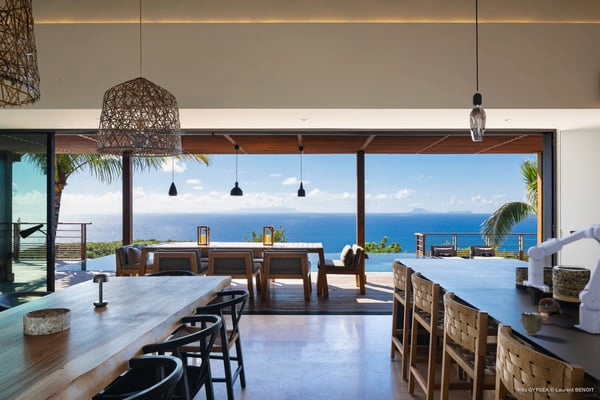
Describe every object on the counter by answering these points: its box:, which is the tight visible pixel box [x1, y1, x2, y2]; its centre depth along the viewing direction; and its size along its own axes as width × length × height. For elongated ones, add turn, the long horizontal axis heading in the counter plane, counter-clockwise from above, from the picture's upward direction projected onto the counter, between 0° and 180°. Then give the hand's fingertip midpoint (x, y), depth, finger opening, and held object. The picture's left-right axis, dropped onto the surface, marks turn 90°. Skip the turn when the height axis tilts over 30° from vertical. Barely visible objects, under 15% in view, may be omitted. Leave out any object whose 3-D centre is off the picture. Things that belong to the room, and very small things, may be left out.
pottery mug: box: [538, 297, 563, 315], centre depth 184 cm, size 12×10×8 cm
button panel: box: [519, 317, 553, 325], centre depth 167 cm, size 5×11×1 cm, turn 93°
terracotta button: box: [539, 312, 549, 319], centre depth 167 cm, size 3×3×2 cm
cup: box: [520, 312, 543, 337], centre depth 150 cm, size 8×7×8 cm
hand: (535, 304), depth 167 cm, fingers closed
